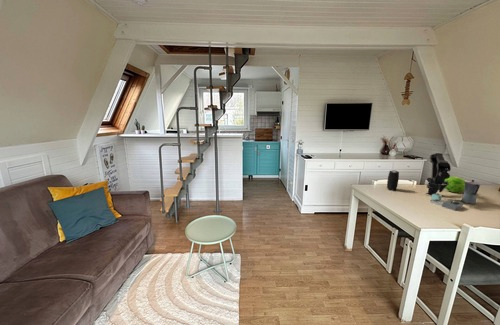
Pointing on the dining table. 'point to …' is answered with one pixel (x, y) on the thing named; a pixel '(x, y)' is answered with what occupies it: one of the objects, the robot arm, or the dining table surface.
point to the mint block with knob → (436, 196)
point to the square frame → (448, 203)
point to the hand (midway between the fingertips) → (437, 193)
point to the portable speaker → (392, 180)
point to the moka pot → (470, 192)
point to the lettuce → (455, 184)
